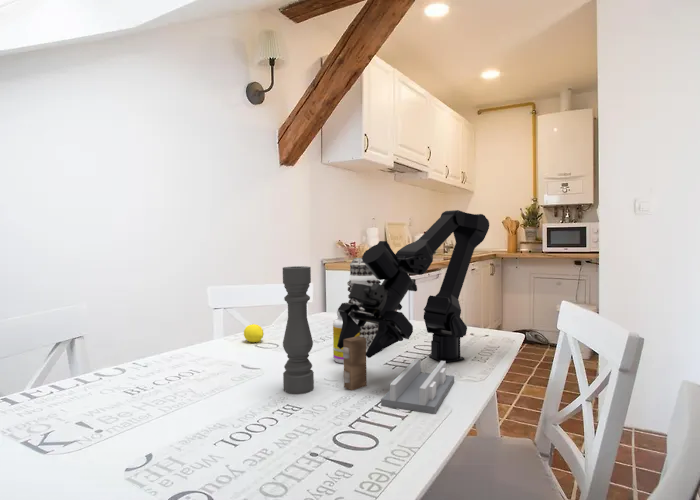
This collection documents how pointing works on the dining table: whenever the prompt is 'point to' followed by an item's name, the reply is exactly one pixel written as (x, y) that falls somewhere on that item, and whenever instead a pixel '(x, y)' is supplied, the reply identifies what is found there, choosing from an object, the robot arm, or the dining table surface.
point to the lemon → (253, 333)
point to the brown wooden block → (354, 362)
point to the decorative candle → (366, 277)
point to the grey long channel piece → (419, 388)
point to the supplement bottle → (336, 334)
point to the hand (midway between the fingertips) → (352, 351)
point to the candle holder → (297, 331)
